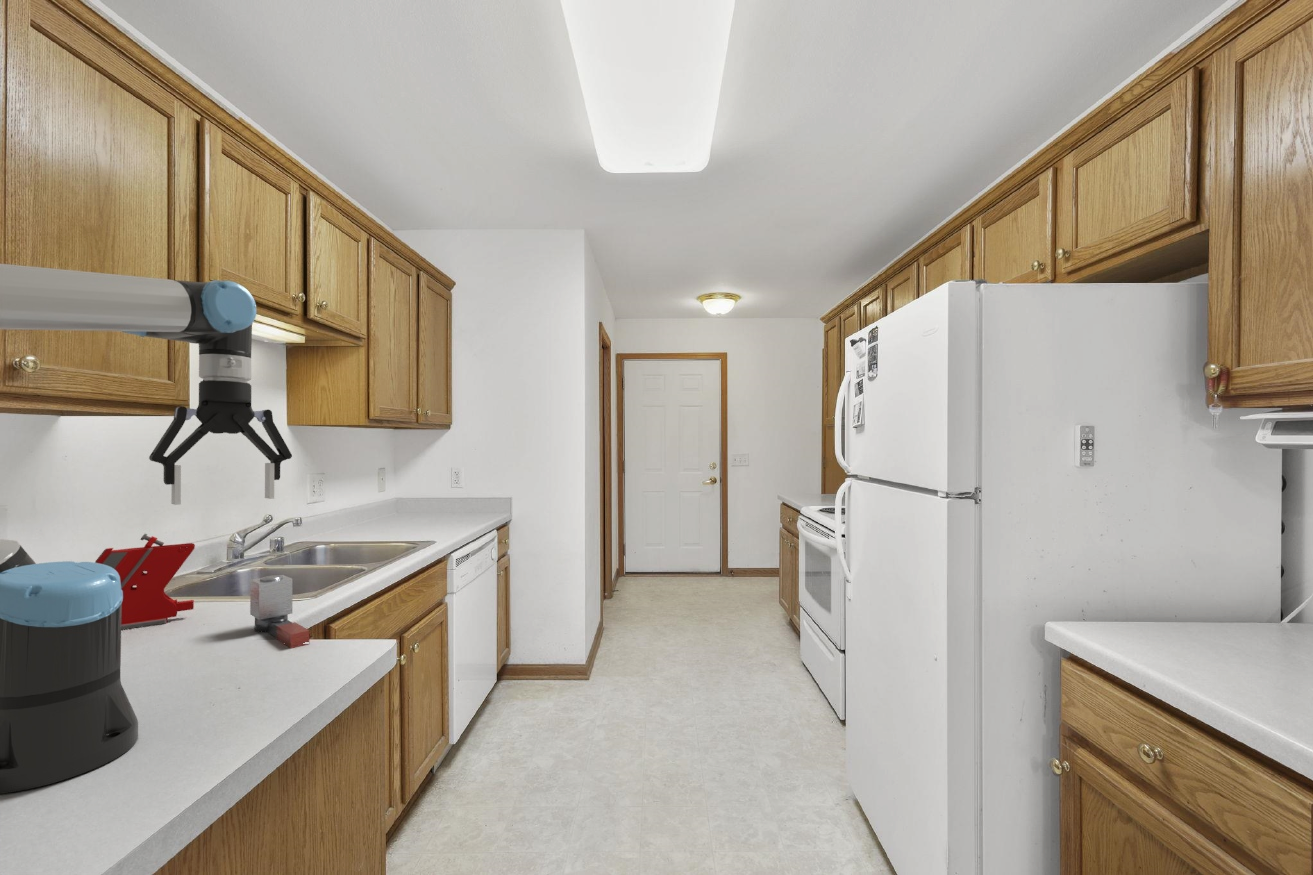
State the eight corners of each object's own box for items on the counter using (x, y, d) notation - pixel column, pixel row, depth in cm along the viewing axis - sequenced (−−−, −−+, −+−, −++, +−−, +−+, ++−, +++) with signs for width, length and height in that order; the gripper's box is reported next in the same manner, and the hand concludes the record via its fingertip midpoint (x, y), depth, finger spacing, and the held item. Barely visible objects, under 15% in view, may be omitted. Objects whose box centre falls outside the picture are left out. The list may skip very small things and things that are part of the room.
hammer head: (250, 614, 123) (250, 577, 123) (282, 608, 127) (282, 572, 127) (259, 619, 119) (259, 582, 119) (292, 613, 123) (292, 576, 123)
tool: (13, 640, 112) (90, 518, 118) (19, 631, 116) (93, 514, 122) (163, 665, 126) (225, 555, 132) (164, 656, 130) (224, 551, 136)
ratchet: (282, 650, 110) (283, 615, 110) (251, 628, 123) (251, 597, 123) (316, 642, 114) (316, 608, 114) (282, 622, 127) (282, 592, 127)
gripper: (135, 373, 91) (134, 508, 91) (310, 385, 110) (310, 497, 110) (128, 376, 96) (127, 505, 96) (296, 387, 115) (296, 494, 115)
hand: (225, 501), depth 103 cm, fingers open, 13 cm apart
